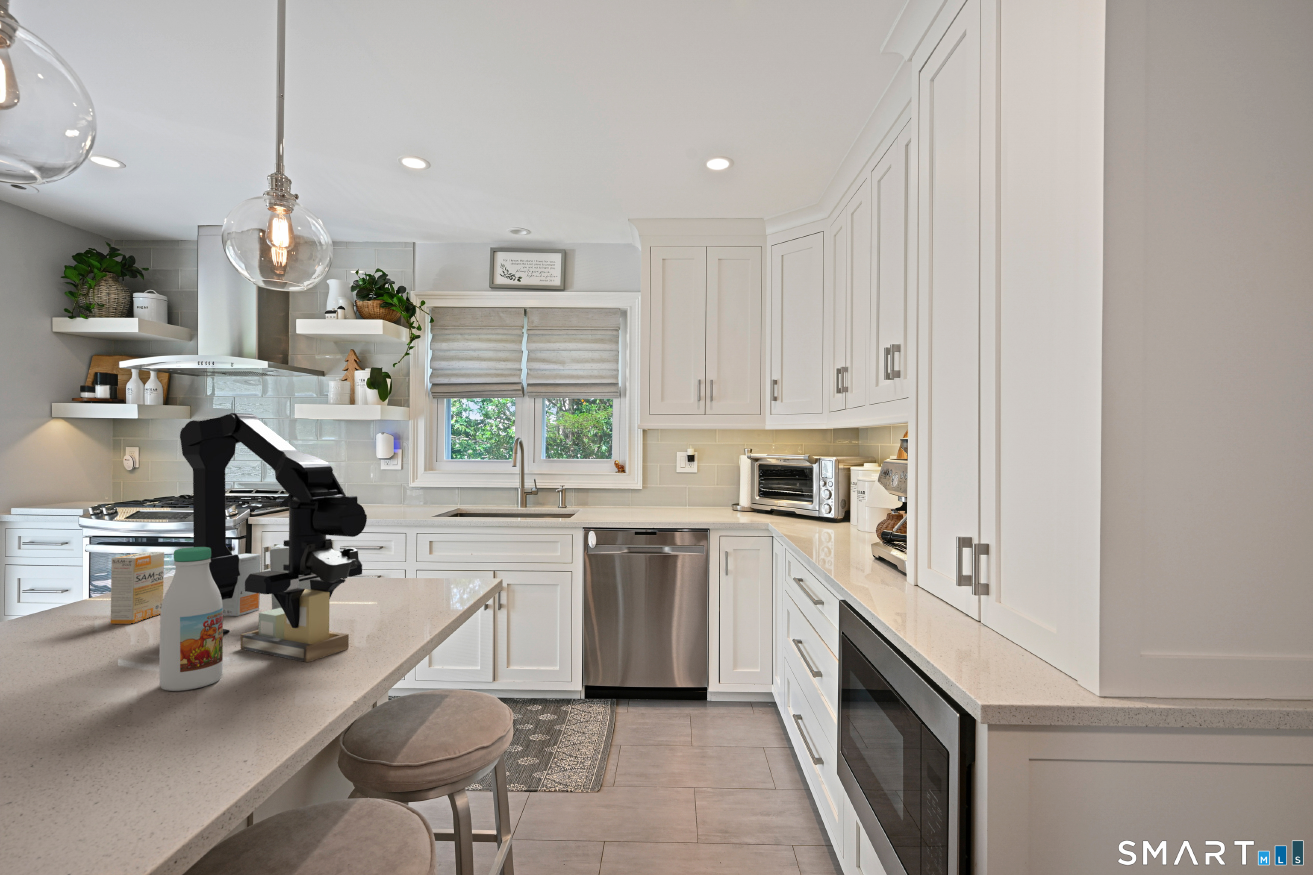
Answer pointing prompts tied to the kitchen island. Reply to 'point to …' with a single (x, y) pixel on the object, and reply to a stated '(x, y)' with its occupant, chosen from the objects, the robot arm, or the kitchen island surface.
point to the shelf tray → (295, 646)
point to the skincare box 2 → (277, 560)
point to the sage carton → (272, 623)
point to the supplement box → (136, 587)
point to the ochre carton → (310, 618)
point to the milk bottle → (191, 624)
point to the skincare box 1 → (243, 588)
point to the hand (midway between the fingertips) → (306, 624)
